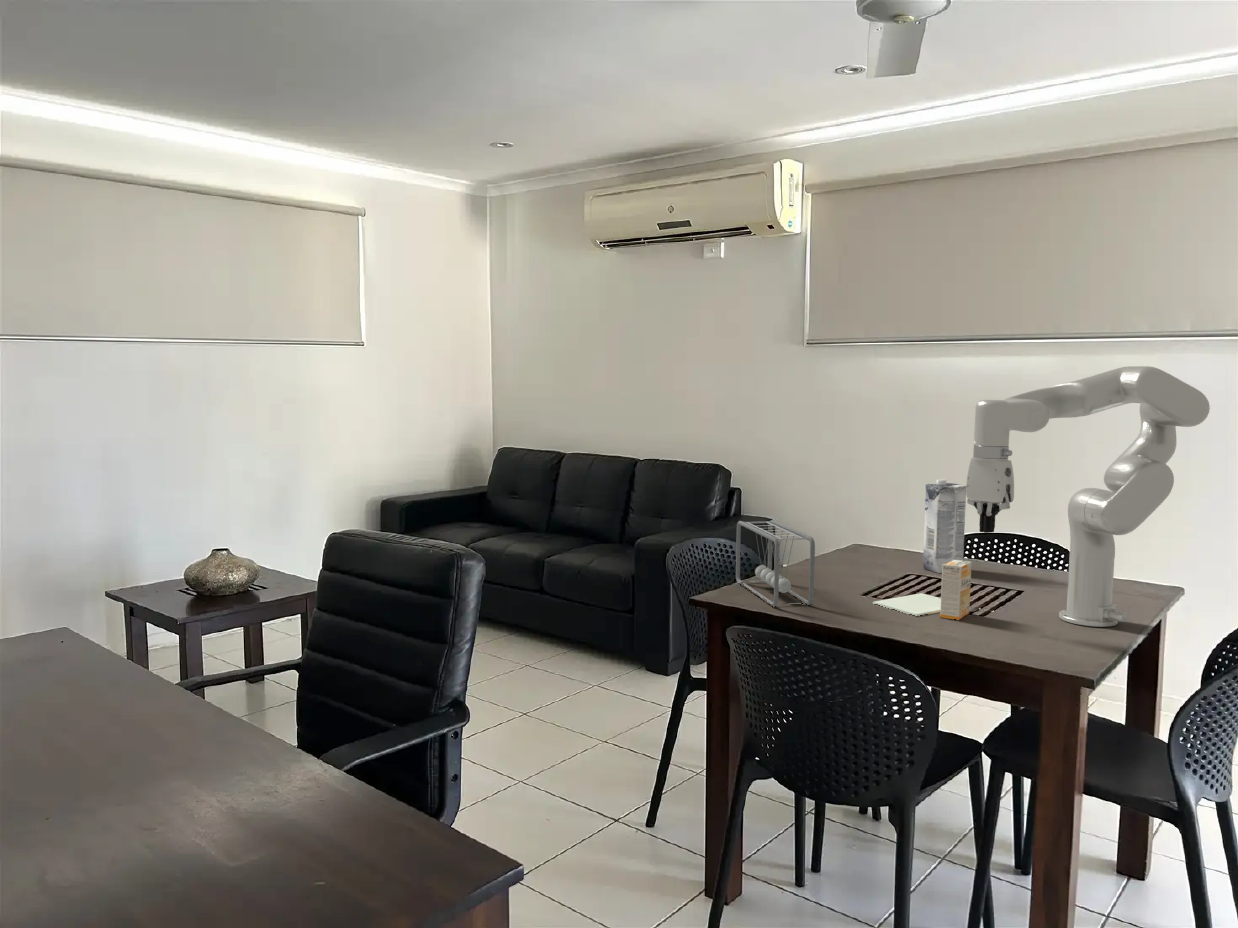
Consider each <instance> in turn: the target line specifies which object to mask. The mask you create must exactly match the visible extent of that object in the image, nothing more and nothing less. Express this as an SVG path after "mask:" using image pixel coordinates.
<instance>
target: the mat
mask: <svg viewBox="0 0 1238 928" xmlns="http://www.w3.org/2000/svg"><path fill="white" fill-rule="evenodd" d="M872 604H873V605H874V604H878V605H880V606H879V607H881V606H883V607H882V608H885V607H886V608H885V609H888V608H889V609H888V610H891V609H895V610H897V611H896V612H898V611H900V612H899V613H902V612H903V613H902V614H905V613H906V615H909V614H912V615H915V616H918V617H921V616H920V615H923V616H925V615H924V614H928V615H933V614H937V613H940V609H941V597H937V596H933V595H931V594H926V593H922V592H920V593H916V594H909V595H904V596H898V597H893V598H885V599H880V600H875V601H872ZM878 605H877V606H878ZM895 610H894V611H895ZM912 615H911V616H912ZM915 616H914V617H915Z"/></svg>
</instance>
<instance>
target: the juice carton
mask: <svg viewBox="0 0 1238 928" xmlns="http://www.w3.org/2000/svg"><path fill="white" fill-rule="evenodd" d="M935 482H936V484H934V483H933V484H932V483H928V484H925V499H924V500H925V501H924V502H925V503H924V525H923V527H924V528H923V549H922V550H923V551H922V557H923V558H922V561H923V562H922V566H923V569H924V570H927V571H931V572H934V573H937V574H942V565H943V564H945V563H947V562H950V561H952V560H961V561H964V548H965V547H964V546H965V524H966V506H967V505H966V502H967V496H966V485H962V484H958V483H951V482H947V479H936V481H935Z"/></svg>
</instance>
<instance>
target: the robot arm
mask: <svg viewBox="0 0 1238 928" xmlns="http://www.w3.org/2000/svg"><path fill="white" fill-rule="evenodd" d="M1128 404H1139V415H1140V430H1139V433H1138V435H1137V437H1135V439H1134V440H1133V442H1132V443H1131V444H1129V446H1128V447H1127V448H1126V449H1125V450H1124V451H1123V452H1122V453H1121V454H1120V455H1118V457H1117V458H1116V459H1115V460H1114V461H1113V462H1112V463H1111V464H1110V465H1109V466H1108V467H1107V468H1106V470H1105V473H1104V475H1103V483H1104V485H1105V486H1106V488H1107V489H1108V490H1106V489H1100V488H1095V487H1087V488H1082V489H1080V490H1077V491H1076V492H1075V493H1074V494H1072V496H1071V497H1070V499H1069V501H1068V503H1067V504H1068V505H1067V516H1068V517H1067V518H1068V524H1069V534H1070V535H1069V538H1070V540H1069V541H1070V543H1069V558H1068V559H1069V561H1068V579H1067V597H1066V609H1062V610H1060V611H1059V612H1058V617H1059V618H1060V620H1063V621H1065V622H1067V623H1071V624H1073V625H1074V624H1075V625H1079V626H1086V627H1095V628H1096V627H1097V628H1098V627H1099V628H1100V627H1101V628H1103V627H1104V628H1105V627H1106V628H1107V627H1114V626H1116V625H1118V624H1119V622H1120V623H1125V622H1126V620H1127V617H1128V616H1127V612H1123V611H1118V610H1117V604H1115V603H1113V590H1114V576H1115V575H1114V573H1115V572H1114V571H1115V558H1116V543H1115V538H1114V536H1124V535H1127V534H1129V533H1132V532H1133V531H1135V530H1136V529H1137V528H1138V527H1140V526H1141V525H1142V523H1144V522H1145V521H1146V520H1147V519H1148V518H1149V517H1150V516H1151V515H1152V514H1153V513H1154V512H1155V511H1156V510H1157V508H1159V507H1160V506H1161V505H1162V504H1163V503H1164V501H1165V500H1166V499H1167V498H1168V497H1169V496H1170V495H1171V493H1172V489H1173V488H1174V482H1175V476H1174V473H1173V470H1172V469H1171V467H1170V466H1169V465H1168V464H1167V463H1168V462H1169V461H1170V460H1171V458H1172V457H1174V454H1175V452H1176V449H1177V428H1176V427H1181V428H1182V427H1185V428H1191V427H1196V426H1198V425H1200V424H1202V423H1203V422H1204V421H1205V420H1206V419H1207V418H1208V415H1209V413H1210V409H1211V406H1210V402H1209V399H1208V398H1207V397H1206V395H1205V394H1204V393H1203V392H1202V391H1200V390H1199V389H1197V388H1195V387H1194V386H1192V385H1190V384H1188V383H1187V382H1185V381H1183V380H1181V379H1179V378H1177V377H1175V376H1173V375H1172V374H1170V373H1168V372H1166V371H1164V370H1162V369H1160V368H1157V367H1154V366H1149V365H1147V366H1146V365H1145V366H1143V365H1141V366H1135V365H1134V366H1130V365H1129V366H1121V367H1118V368H1114V369H1111V370H1108V371H1104V372H1101V373H1097V374H1094V375H1091V376H1087V377H1084V378H1081V379H1076V380H1073V381H1069V382H1064V383H1060V384H1056V385H1052V386H1047V387H1044V388H1038V389H1035V390H1030V391H1027V392H1023V393H1019V394H1016V395H1013V396H1010V397H1006V398H1004V399H1003V400H1002V399H981V400H979V401H977V403H976V405H975V413H974V415H975V416H974V430H973V431H974V433H973V452H972V453H973V455H972V456H973V457H972V458H971V459H970V462H969V465H968V470H967V476H966V485H965V486H966V502H967V504H969V505H971V506H973V507H974V508H975V509H976V511H977V515H979V532H980V533H984V534H985V533H986V534H988V533H994V532H995V528H996V516H998V515H999V513H1000V512H1001V511H1002V510H1003V511H1005V510H1010V508H1011V503H1012V502H1013V501H1014V498H1015V477H1014V468H1013V464H1012V460H1011V459H1010V460H1009V457H1011V456H1013V451H1012V450H1011V449H1010V431H1015V432H1022V433H1035V432H1039V431H1041V430H1042V429H1044V428H1045V427H1046V426H1047V425H1048V423H1049V421H1050V420H1051V419H1059V418H1060V419H1062V418H1066V419H1067V418H1070V419H1071V418H1079V417H1086V416H1090V415H1094V414H1097V413H1099V412H1104V411H1106V410H1110V409H1113V408H1117V407H1121V406H1124V405H1128Z"/></svg>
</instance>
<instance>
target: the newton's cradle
mask: <svg viewBox="0 0 1238 928" xmlns="http://www.w3.org/2000/svg"><path fill="white" fill-rule="evenodd" d="M755 524H763V525H762V527H767V529H768V530H765V529H764V528H762V527H760V526H758V525H755ZM764 524H767V525H764ZM742 527H743V528H745V529H747V530H749V531H752V532H754V533H755V535H756V536H755V537H756V539H758V536H757V535H759V536H760V538H761V541H763V538H762V537H764V538H765V541H766V550H765V549H764V548H762V550H763V551H762V552H763V553H764V554H763V557H764V560H763V564H762V562H761V561H762V560H761V553H758V556H759V566H757V567H756V568H755V570H754V573H755V574H754V575H755V577H756V578H758V579H760V580H761V581H764V582H763V583H766V584H767V585H768V586H771V587H773V601H772V600H771V599H769V598H768V597H766V596H765V595H763V594H761V593H760V592H758V590H755V589H754V588H753V587H752V586H750V585H748V583H743V584H744V586H746V587H747V588H749V589H750V590H752V592H754V593H757V594H758V595H759V596H760V597H761V598H764V599H766V600H767V602H769V603H770V604H773V605H775V606H776V607H778V606H777V605H778V604H779V592H780V593H783V594H784V593H787V592H790V593H792V594H793V595H795V596H796V597H797V598H800V599H802V600H803V601H804V602H805V603H806V604H812V605H813V604H814V597H815V595H814V593H815V590H814V589H815V587H814V586H815V563H816V562H815V560H816V559H815V557H816V555H815V554H816V552H815V551H816V545H815V544H816V543H815V540H814V538H813V537H812V536H811V535H808V534H806V533H805V532H802V531H799V530H797V529H794V528H792V527H790V526H788V525H787V524H784V523H781V522H779V521H777V520H774V519H772V520H771V519H770V520H769V521H742V520H738V522H737V524H736V542H735V543H736V544H735V545H736V549H735V551H736V553H735V579H736V582H737V584H738V583H741V582H746V581H745V580H744V581H743V580H741V535H742V533H741V532H742ZM774 528H776V529H774ZM773 529H774V530H773ZM778 529H779V530H778ZM774 531H775V534H774V533H773V532H774ZM778 531H781V533H780V534H781V535H780V536H779V535H777V534H778ZM783 533H786V534H787V535H786V534H785V535H783ZM788 536H790V537H791V536H792V537H791V538H790V537H789V538H788ZM782 537H786V538H782ZM767 539H768V540H767ZM795 540H796V541H797V540H798V541H799V540H801V541H802V540H808V541H809V544H810V545H809V546H810V548H809V581H808V582H809V584H808V585H809V588H808V590H809V591H808V599H806V598H805V597H803V596H801V595H800V594H798V593H796V592H794V591H793V590H791V588H792V583H791V581H790V580H789V579H788V578H786V576H787V572H788V567H789V562H790V557H791V553H792V547H793V543H794V541H795ZM781 541H785V545H784V550H783V555H782V559H781V556H780V547H781ZM788 541H792V542H791V545H790V551H789V555H788V556H789V557H788V561H787V566H786V570H785V577H784V576H783V575H782V574H783V570H782V566H783V563H784V561H783V560H784V556H785V552H786V547H787V543H788ZM756 544H757V550H758V551H757V552H760V547H759V542H758V540H756ZM761 545H762V547H764V544H763V542H761ZM766 556H767V561H766ZM773 559H774V560H773ZM773 561H774V568H773ZM772 569H773V570H772ZM749 581H750V582H752V583H759V582H758V581H759V580H749ZM756 581H757V582H756ZM801 603H802V602H795V603H789V604H801ZM805 603H804V604H803V605H806V604H805Z"/></svg>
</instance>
